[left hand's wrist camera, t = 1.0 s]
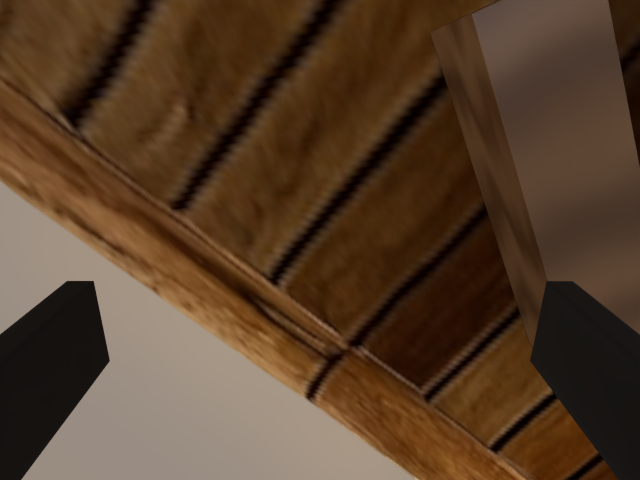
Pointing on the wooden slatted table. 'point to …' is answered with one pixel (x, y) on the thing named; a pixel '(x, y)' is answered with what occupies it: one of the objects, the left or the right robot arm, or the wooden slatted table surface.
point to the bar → (550, 146)
